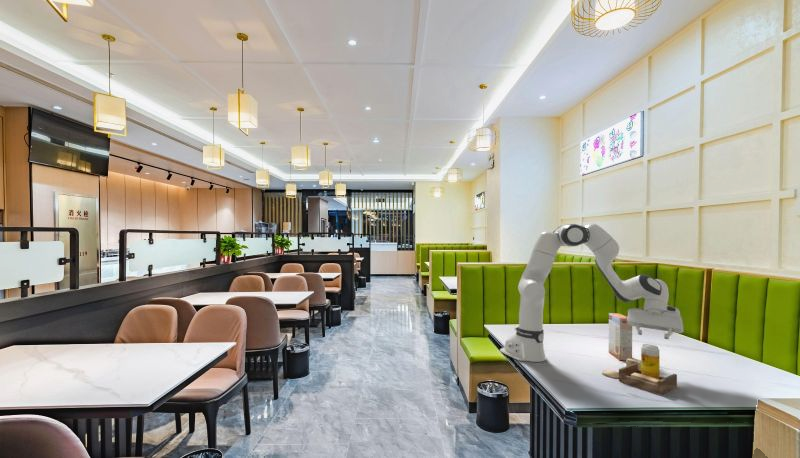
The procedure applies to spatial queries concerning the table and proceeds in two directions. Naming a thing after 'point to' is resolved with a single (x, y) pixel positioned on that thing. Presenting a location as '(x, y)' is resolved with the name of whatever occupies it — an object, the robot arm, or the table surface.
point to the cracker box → (620, 337)
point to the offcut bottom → (645, 378)
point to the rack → (663, 384)
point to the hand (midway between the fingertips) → (652, 336)
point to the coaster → (611, 374)
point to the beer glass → (650, 361)
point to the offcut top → (632, 361)
